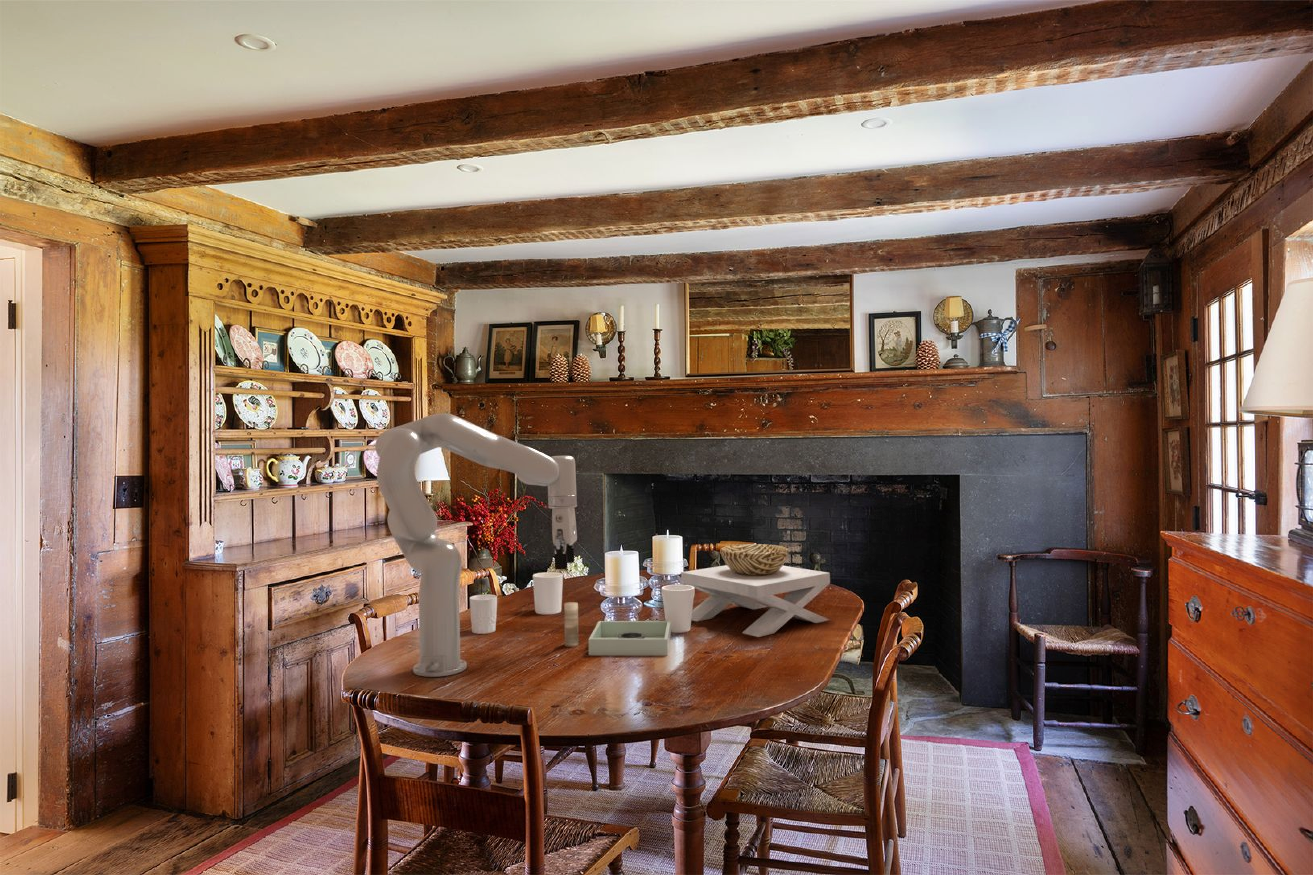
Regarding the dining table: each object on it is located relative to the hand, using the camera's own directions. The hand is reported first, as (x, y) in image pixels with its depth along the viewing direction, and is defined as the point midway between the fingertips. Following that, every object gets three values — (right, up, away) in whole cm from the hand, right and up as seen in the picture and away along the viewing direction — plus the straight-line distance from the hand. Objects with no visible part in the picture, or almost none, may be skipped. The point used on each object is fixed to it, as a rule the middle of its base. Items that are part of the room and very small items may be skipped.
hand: (564, 565), depth 213 cm
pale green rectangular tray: (+18, -22, -2) cm, 28 cm away
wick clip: (+18, -21, -2) cm, 27 cm away
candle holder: (-11, -22, +45) cm, 51 cm away
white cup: (-26, -23, +20) cm, 40 cm away
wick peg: (+2, -22, -1) cm, 22 cm away
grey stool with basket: (+55, -22, +31) cm, 67 cm away
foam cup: (+31, -22, +15) cm, 40 cm away
